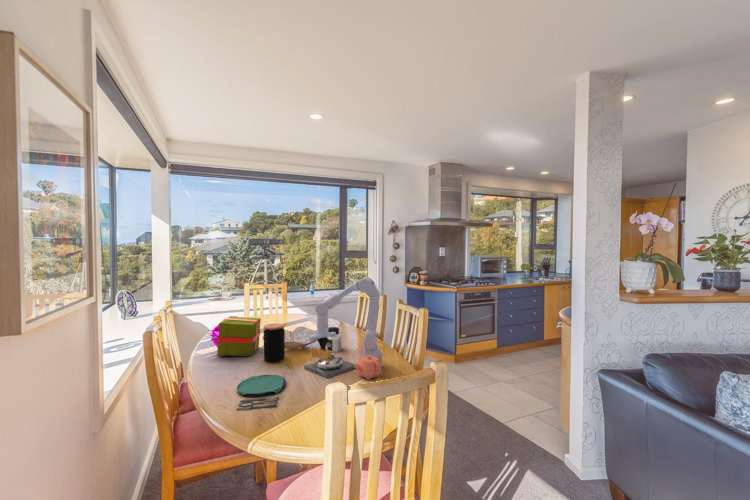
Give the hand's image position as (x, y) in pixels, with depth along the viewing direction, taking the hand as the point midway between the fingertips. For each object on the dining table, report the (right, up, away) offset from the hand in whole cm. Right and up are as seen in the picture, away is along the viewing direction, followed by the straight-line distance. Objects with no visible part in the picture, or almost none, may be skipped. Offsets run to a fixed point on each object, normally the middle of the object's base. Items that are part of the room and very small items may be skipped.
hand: (322, 352), depth 175 cm
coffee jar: (-27, -6, +8) cm, 29 cm away
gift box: (-53, -6, +20) cm, 57 cm away
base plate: (+4, -6, -6) cm, 9 cm away
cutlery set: (-21, -7, -33) cm, 40 cm away
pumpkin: (+23, -6, -17) cm, 29 cm away
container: (+2, -6, +24) cm, 25 cm away
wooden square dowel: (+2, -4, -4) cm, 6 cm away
